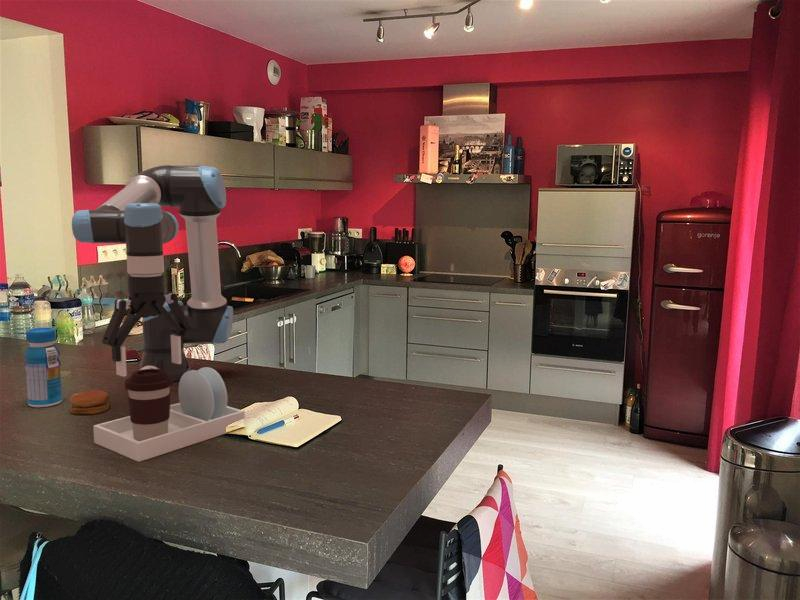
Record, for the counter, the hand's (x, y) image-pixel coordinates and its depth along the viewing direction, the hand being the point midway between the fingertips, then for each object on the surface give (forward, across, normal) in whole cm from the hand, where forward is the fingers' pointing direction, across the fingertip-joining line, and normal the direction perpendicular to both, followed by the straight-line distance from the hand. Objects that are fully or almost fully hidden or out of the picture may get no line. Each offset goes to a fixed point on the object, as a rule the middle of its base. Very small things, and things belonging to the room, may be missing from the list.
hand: (150, 369), depth 146 cm
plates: (+16, -13, 0) cm, 21 cm away
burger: (+17, -2, -32) cm, 37 cm away
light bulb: (+17, -12, -19) cm, 28 cm away
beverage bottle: (+17, +2, -46) cm, 49 cm away
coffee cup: (+16, +1, 0) cm, 16 cm away
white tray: (+17, -5, 0) cm, 17 cm away
